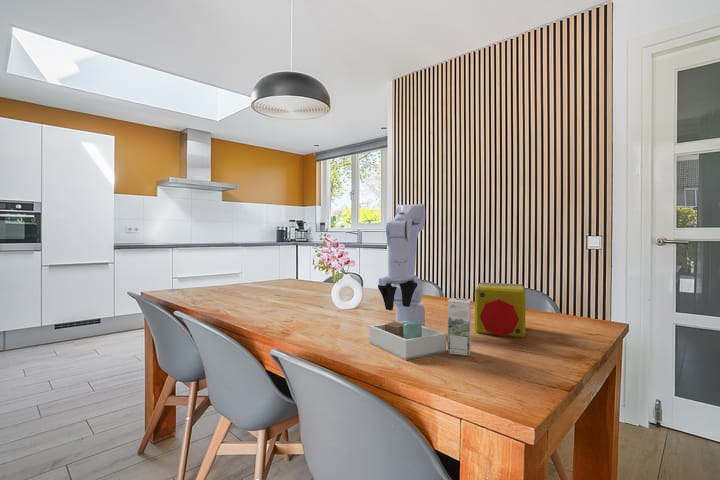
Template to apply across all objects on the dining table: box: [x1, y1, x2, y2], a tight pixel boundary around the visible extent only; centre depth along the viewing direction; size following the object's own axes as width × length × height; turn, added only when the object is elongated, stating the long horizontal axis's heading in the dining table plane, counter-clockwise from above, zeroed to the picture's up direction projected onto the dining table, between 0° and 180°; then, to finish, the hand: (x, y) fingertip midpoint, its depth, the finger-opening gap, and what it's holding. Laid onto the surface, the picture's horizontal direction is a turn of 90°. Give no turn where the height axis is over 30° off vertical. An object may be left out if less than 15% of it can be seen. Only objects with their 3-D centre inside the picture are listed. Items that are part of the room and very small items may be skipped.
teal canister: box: [403, 321, 422, 339], centre depth 100 cm, size 5×5×7 cm
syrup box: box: [447, 297, 472, 357], centre depth 99 cm, size 6×6×14 cm
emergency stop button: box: [474, 281, 527, 338], centre depth 119 cm, size 15×24×15 cm, turn 158°
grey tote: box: [368, 321, 447, 361], centre depth 104 cm, size 14×18×5 cm
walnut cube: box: [384, 321, 404, 338], centre depth 107 cm, size 5×5×5 cm
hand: (397, 308), depth 107 cm, fingers open, 7 cm apart
